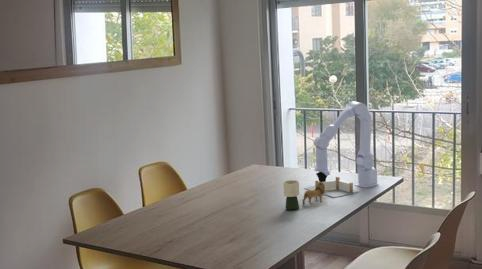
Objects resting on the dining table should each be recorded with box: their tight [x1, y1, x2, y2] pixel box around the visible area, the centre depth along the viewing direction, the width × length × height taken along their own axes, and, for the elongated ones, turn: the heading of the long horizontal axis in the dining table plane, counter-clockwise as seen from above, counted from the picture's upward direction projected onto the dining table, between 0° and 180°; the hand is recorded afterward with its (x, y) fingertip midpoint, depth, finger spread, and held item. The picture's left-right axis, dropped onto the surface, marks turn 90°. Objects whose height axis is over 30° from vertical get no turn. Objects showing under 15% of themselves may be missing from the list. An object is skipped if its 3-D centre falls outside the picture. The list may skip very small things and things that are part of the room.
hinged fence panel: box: [314, 179, 336, 190], centre depth 308 cm, size 11×2×5 cm, turn 104°
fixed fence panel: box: [335, 176, 354, 193], centre depth 305 cm, size 12×2×6 cm, turn 31°
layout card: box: [303, 185, 360, 199], centre depth 308 cm, size 16×24×1 cm, turn 31°
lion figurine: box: [301, 181, 325, 206], centre depth 287 cm, size 15×5×9 cm, turn 132°
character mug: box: [282, 179, 300, 211], centre depth 279 cm, size 11×7×13 cm, turn 20°
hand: (322, 186), depth 309 cm, fingers closed, pressing on hinged fence panel
